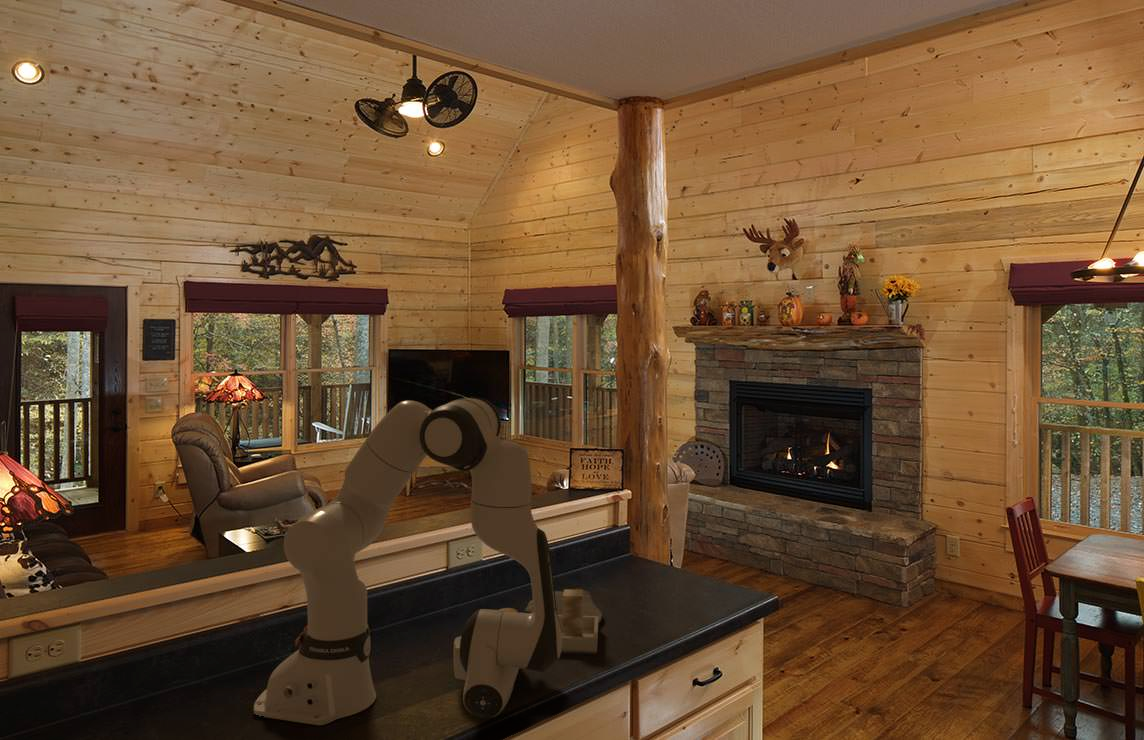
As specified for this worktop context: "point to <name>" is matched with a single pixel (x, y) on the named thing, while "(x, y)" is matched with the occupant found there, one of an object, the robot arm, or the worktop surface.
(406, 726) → the worktop surface
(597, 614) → the stone tool
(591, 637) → the beige tray
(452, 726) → the worktop surface
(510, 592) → the worktop surface
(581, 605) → the birch block
